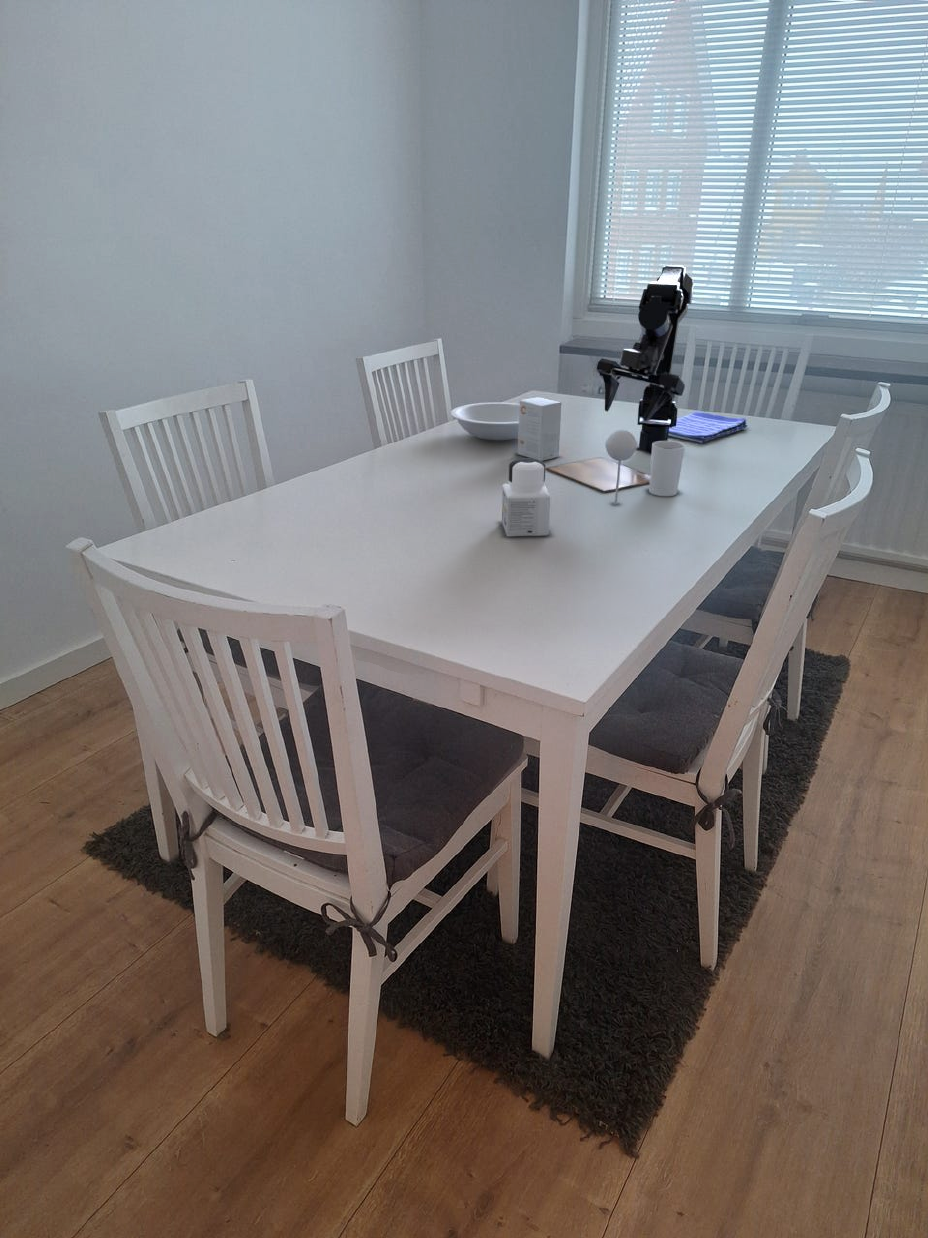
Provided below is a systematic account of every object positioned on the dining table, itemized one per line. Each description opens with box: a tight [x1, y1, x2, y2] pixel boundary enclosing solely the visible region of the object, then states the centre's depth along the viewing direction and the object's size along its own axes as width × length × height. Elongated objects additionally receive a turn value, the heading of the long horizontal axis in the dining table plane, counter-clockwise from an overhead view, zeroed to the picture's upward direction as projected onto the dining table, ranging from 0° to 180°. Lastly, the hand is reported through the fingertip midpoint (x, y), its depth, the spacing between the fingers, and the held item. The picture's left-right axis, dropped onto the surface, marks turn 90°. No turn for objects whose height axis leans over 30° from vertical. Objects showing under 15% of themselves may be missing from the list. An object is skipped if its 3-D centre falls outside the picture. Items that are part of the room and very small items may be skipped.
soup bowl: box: [450, 402, 520, 441], centre depth 209 cm, size 24×24×7 cm
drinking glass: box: [648, 440, 686, 497], centre depth 169 cm, size 7×7×10 cm
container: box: [501, 457, 552, 538], centre depth 148 cm, size 8×8×13 cm
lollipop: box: [604, 429, 638, 506], centre depth 160 cm, size 6×6×15 cm
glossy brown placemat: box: [546, 457, 650, 494], centre depth 182 cm, size 16×20×1 cm
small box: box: [517, 396, 562, 462], centre depth 193 cm, size 8×6×13 cm
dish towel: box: [668, 411, 748, 444], centre depth 218 cm, size 17×24×3 cm
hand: (625, 415), depth 173 cm, fingers open, 9 cm apart
